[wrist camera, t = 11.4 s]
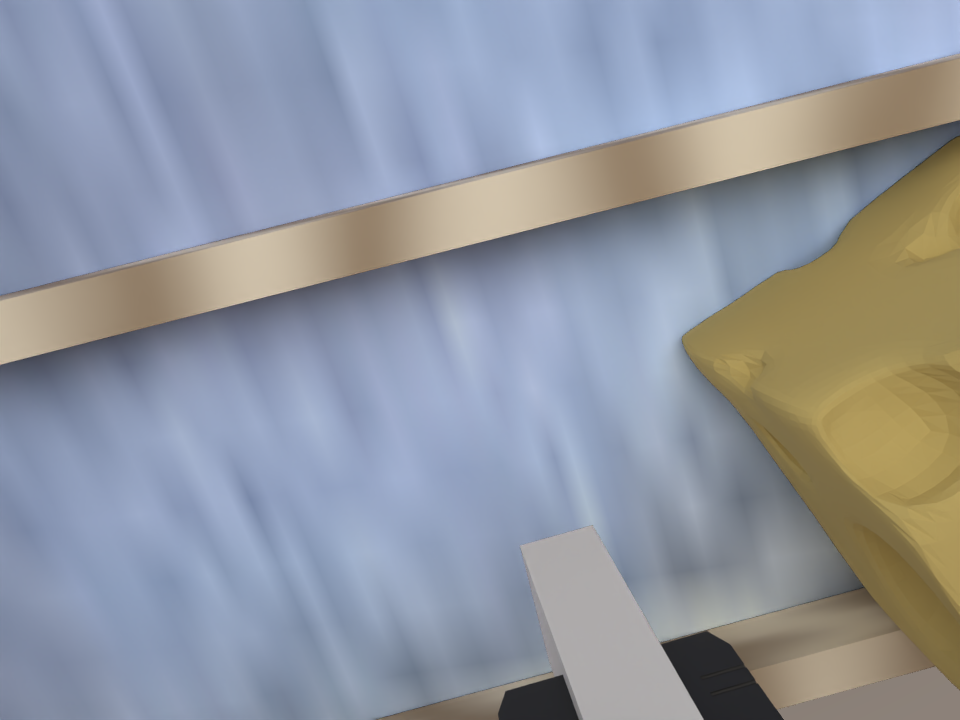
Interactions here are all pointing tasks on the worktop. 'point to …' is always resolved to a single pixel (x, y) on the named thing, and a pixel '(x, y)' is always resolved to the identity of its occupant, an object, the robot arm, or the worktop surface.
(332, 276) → the channel
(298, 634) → the worktop surface
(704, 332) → the cheese
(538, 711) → the robot arm
